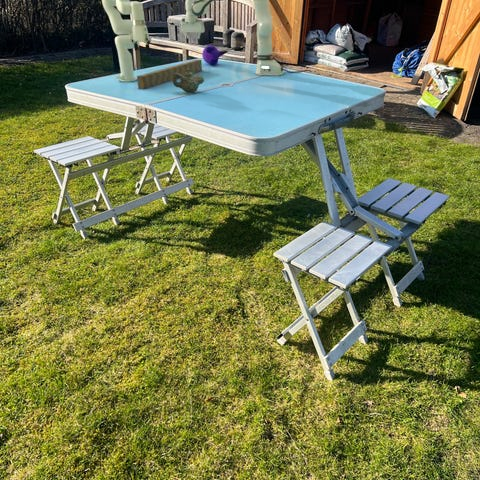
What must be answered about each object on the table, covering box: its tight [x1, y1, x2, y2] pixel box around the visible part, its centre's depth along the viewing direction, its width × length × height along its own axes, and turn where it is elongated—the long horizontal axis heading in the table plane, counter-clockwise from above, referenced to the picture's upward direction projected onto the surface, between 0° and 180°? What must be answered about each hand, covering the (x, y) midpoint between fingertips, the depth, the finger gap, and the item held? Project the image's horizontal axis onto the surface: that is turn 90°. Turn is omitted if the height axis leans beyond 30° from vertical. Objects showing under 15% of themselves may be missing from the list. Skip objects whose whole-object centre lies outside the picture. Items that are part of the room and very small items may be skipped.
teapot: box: [172, 69, 205, 94], centre depth 298 cm, size 21×12×15 cm, turn 109°
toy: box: [202, 44, 229, 67], centre depth 392 cm, size 16×18×27 cm
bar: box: [136, 59, 203, 90], centre depth 342 cm, size 77×5×8 cm, turn 152°
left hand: (142, 50), depth 307 cm, fingers open, 9 cm apart
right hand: (193, 38), depth 356 cm, fingers open, 8 cm apart
